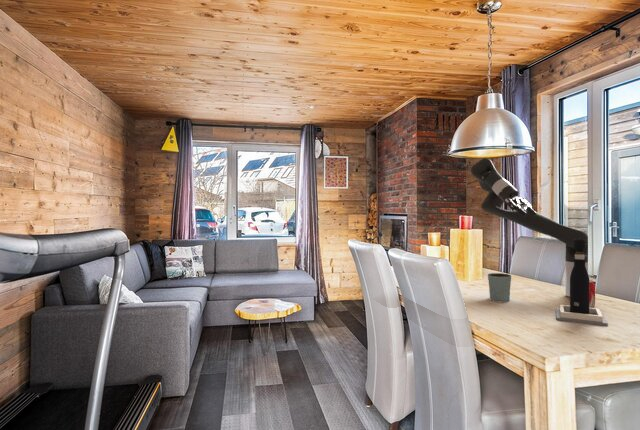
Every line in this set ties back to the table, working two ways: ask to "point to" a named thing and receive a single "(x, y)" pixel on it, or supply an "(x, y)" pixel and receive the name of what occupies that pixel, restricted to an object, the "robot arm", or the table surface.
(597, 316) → the dock
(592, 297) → the soda can
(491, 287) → the grey green cup
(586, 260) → the robot arm
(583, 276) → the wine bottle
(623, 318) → the table surface
